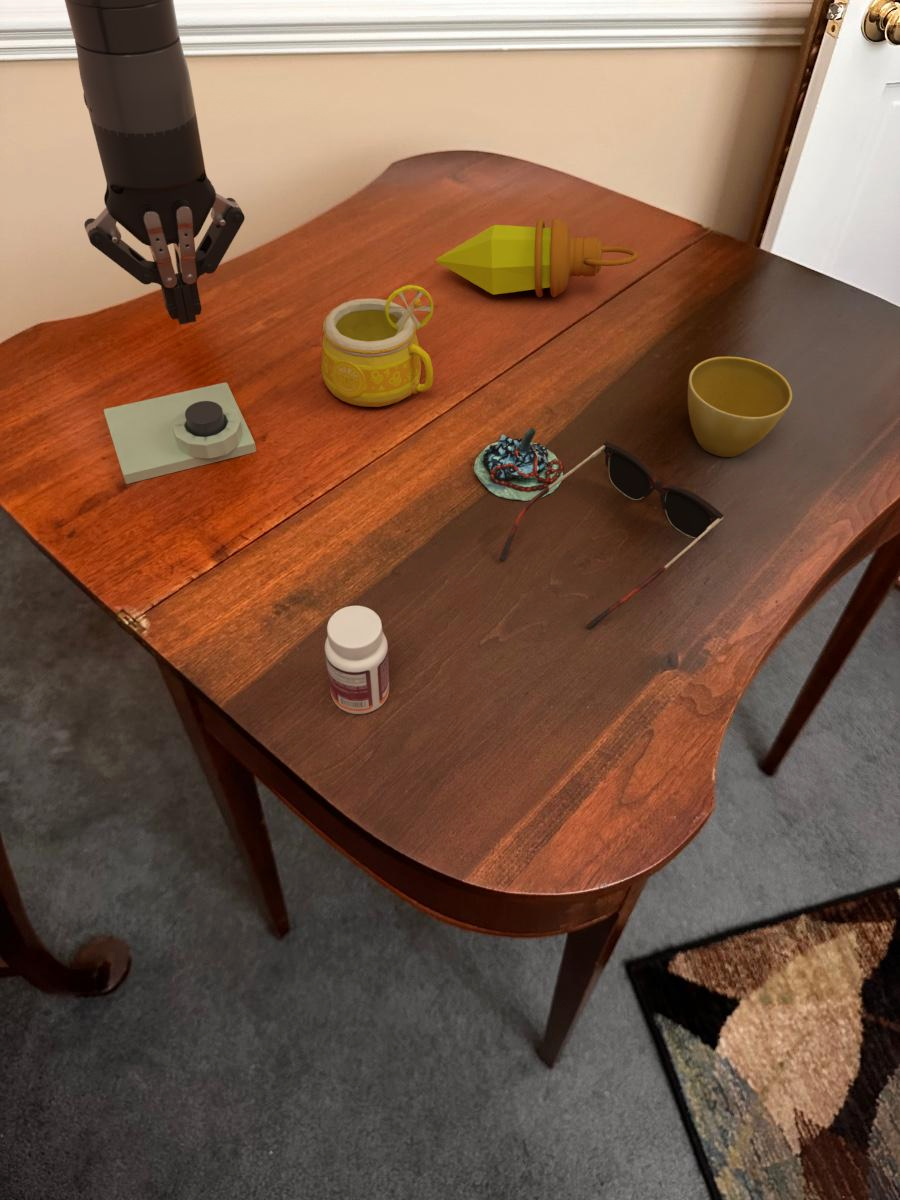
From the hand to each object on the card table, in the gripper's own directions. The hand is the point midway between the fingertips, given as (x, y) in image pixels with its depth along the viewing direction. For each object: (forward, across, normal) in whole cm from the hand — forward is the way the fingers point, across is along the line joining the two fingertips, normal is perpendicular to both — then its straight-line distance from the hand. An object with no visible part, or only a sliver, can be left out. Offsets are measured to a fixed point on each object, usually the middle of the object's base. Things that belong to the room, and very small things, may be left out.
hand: (186, 318), depth 77 cm
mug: (+15, +19, +3) cm, 25 cm away
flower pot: (+14, +49, -19) cm, 55 cm away
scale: (+15, -3, +4) cm, 16 cm away
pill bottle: (+15, +3, -34) cm, 37 cm away
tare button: (+12, 0, +1) cm, 12 cm away
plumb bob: (+15, +44, +15) cm, 49 cm away
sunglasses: (+15, +29, -28) cm, 43 cm away
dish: (+15, +27, -15) cm, 34 cm away
